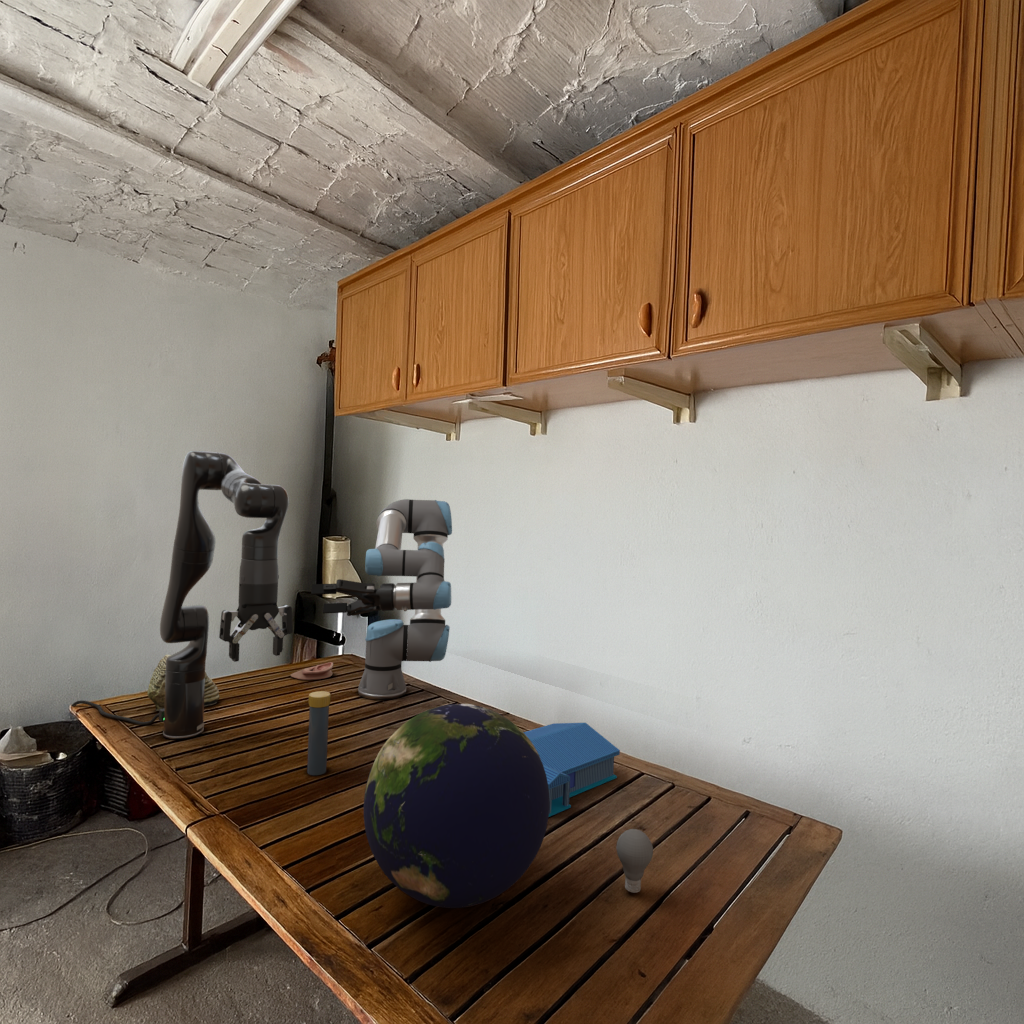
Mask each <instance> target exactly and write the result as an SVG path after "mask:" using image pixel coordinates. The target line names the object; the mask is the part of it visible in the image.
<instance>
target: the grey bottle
mask: <svg viewBox="0 0 1024 1024" xmlns="http://www.w3.org/2000/svg"><path fill="white" fill-rule="evenodd" d="M329 715H330V705H328V706H326V707H320V708H316V707H311V706H309V713H308V738H307V760H306V761H307V764H306V774H307V775H310V776H320V775H325V774H326V773H327V768H328V745H329V743H328V742H329V718H330V716H329Z"/></svg>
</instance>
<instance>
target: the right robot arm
mask: <svg viewBox="0 0 1024 1024" xmlns="http://www.w3.org/2000/svg"><path fill="white" fill-rule="evenodd" d="M376 527H377V530H378V531H377V537H376V542H375V547H374V548H369V549H367V550H366V552H365V564H364V565H365V568H364V571H365V573H366V575H368V576H375V577H376V576H377V577H415V578H416V579H415V582H397V583H396V584H395V583H393V582H392V583H391V582H389V583H387V582H386V583H381V585H380V587H379V588H375V585H376V584H375V583H370V582H369V583H365V582H361V581H360V582H359V581H352V580H346V579H342V578H341V579H340V578H339V579H336V583H311V591H310V594H311V596H314V595H315V596H317V595H320V596H321V595H337V593H339V594H342V595H346V596H350V597H354V598H357V600H356V601H353V602H350V603H348V602H331V603H330V602H329V603H328V602H327V603H326V602H325V603H323V608H322V613H323V614H346V616H347V617H351V616H352V617H353V616H358V615H362V614H366V613H371V612H379V611H382V612H389V611H395V610H397V611H403V612H407V611H414V615H413V616H412V617H410V619H409V624H405V623H404V620H402V619H399V618H397V619H396V618H394V619H393V618H390V619H383V620H378V621H375V622H372V623H370V624H369V625H368V626H367V627H366V634H365V639H364V640H365V658H364V671H363V672H362V676H361V679H360V681H359V684H358V689H357V694H358V695H359V696H360V697H361V698H365V699H369V700H376V701H380V700H381V701H383V700H384V701H385V700H394V699H398V698H401V697H403V696H405V694H406V693H407V684H406V680H405V677H404V674H403V670H402V663H403V662H429V663H432V662H441V661H443V660H445V657H446V654H447V649H448V643H449V637H450V628H451V627H450V625H448V624H446V618H445V617H443V615H442V610H443V609H449V608H450V607H451V605H452V584H451V582H450V581H447V580H445V549H444V544H445V543H446V542H447V541H448V538H449V536H451V535H452V534H453V520H452V512H451V506H450V504H449V503H448V502H447V501H444V500H437V499H410V498H404V499H399V500H396V501H393V502H391V503H389V504H387V506H385V507H384V508H383V509H382V510H381V511H380V512H379V513H378V516H377V519H376ZM403 534H413V538H412V539H413V540H414V541H415V542H416V544H417V549H402V542H403V541H402V540H403Z"/></svg>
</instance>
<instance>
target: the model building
mask: <svg viewBox="0 0 1024 1024" xmlns="http://www.w3.org/2000/svg"><path fill="white" fill-rule="evenodd" d="M523 733H524V734H525V735H526V736H527V737H528V738H529V739H530V741H531V742H532V744H533V745H534V747H535V749H536V750H537V752H538V754H539V756H540V759H541V761H542V764H543V766H544V770H545V773H546V777H547V782H548V788H549V817H552V816H555V815H557V814H559V813H562V812H563V811H566V810H569V809H571V808H572V805H571V804H570V798H572V797H575V796H577V795H580V794H582V793H585V792H587V791H589V790H591V789H594V788H597V787H599V786H601V785H603V784H605V783H609V782H610V781H613V780H615V779H617V778H618V776H617V775H616V774H614V771H615V770H614V768H615V767H614V765H615V757H617V756H620V754H621V750H620V749H619V748H618V747H617V746H616V745H614V744H613V743H612V742H611V741H610V740H607V738H605V737H604V736H603V735H601V734H600V733H599V732H598V731H597V730H596V729H594V728H593V727H592V726H591V725H589V724H588V723H587V722H560V723H559V722H558V723H555V722H554V723H550V724H546V725H544V726H543V725H542V726H540V727H537V728H533V729H530V730H526V731H523ZM549 817H548V818H549Z"/></svg>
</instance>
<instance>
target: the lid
mask: <svg viewBox="0 0 1024 1024" xmlns="http://www.w3.org/2000/svg"><path fill="white" fill-rule="evenodd" d="M331 697H332V696H331V692H329V691H326V690H325V691H324V690H319V691H313V692H310V693H309V694H308V700H307V701H308V703H307V705H308V707H310V706H311V707H316V708H320V707H326V706H328V705H329V706H330V705H331V701H332V700H331Z"/></svg>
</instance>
